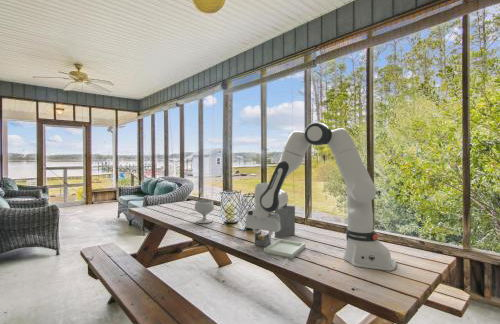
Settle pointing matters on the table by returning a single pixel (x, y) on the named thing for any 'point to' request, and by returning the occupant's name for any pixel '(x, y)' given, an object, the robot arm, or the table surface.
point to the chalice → (204, 209)
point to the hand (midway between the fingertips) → (262, 237)
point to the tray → (285, 248)
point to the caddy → (262, 243)
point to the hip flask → (286, 221)
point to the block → (261, 237)
